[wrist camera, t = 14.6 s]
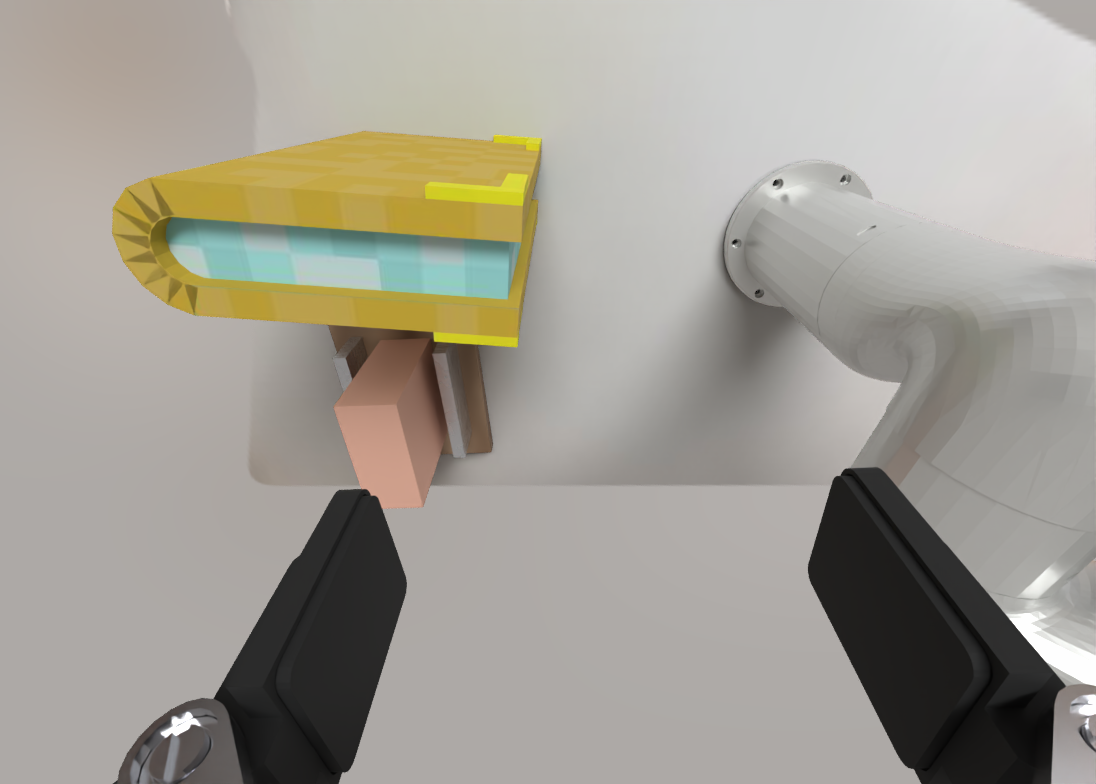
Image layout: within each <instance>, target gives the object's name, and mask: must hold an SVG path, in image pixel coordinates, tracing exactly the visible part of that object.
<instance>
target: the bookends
mask: <svg viewBox="0 0 1096 784" xmlns="http://www.w3.org/2000/svg"><path fill="white" fill-rule="evenodd" d="M432 355H433V360H434V364H435V369H436V374H437V379H438V384H439V389H440V393H441V398H442V403H443V408H444V413H445V418H446V423H447V427H448V432H449V437H450V442H451V447H452V452H453V456H454V458H463V457H466V453H467V449H468V445H469V441H470V437H471V433H472V429H471V424H470V418H469V412H468V407H467V401H466V395H465V390H464V384H463V378H462V373H461V367H460V361H459V355H458V350H457V344H456V343H448V342H438V343H437V345H436V347H435V349H434V351H433V353H432ZM367 359H368V355H367V352H366V348H365V345H364V341H363V338H362V337H350V338H349V340H348V341H347V342H346V343H345V344H344V346H343V347H342V348H341V349H340V350H339V352H338V353H337V354H336V355H335V356H334V358H333V361H334V364H335V368H336V371H337V374H338V377H339V380H340V383H341V386H342V389H343V392H344V391H345V390H346V388H347V387H348V385H349V384H350V383H351V381H352V380H353V378H354V377H355V376H356V374H357V373H358V371H359V370H360V369H361V367H362V366H363V364H364V363H365V361H366V360H367Z"/></svg>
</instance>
